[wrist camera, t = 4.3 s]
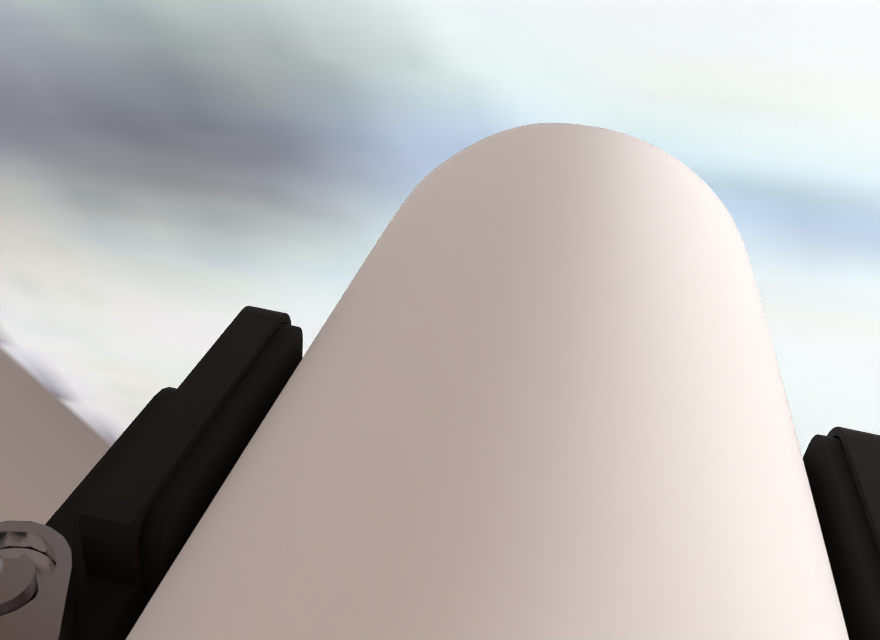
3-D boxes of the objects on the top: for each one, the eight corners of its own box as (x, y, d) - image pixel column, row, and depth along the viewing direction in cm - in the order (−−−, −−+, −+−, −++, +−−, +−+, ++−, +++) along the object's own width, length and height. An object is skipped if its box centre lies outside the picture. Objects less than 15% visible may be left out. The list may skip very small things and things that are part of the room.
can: (686, 49, 12) (900, 1045, 2) (792, 392, 15) (1117, 1581, 5) (325, 191, 15) (-355, 974, 5) (469, 464, 17) (229, 1357, 7)
